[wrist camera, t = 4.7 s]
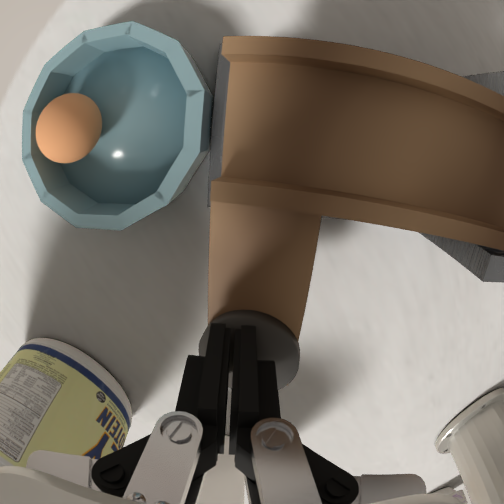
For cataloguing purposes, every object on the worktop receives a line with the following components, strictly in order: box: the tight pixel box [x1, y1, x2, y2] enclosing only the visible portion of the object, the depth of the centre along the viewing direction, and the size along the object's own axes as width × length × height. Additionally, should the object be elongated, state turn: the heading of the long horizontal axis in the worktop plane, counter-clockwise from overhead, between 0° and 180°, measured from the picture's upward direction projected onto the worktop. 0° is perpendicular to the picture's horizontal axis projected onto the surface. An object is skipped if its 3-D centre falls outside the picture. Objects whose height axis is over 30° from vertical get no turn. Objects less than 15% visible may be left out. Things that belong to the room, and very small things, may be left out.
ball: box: [36, 93, 102, 163], centre depth 11 cm, size 4×4×4 cm
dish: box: [22, 21, 214, 230], centre depth 12 cm, size 10×10×3 cm
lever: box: [199, 36, 504, 390], centre depth 8 cm, size 22×13×3 cm, turn 86°
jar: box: [198, 435, 245, 504], centre depth 19 cm, size 9×8×12 cm
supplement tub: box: [0, 338, 132, 467], centre depth 14 cm, size 12×12×17 cm
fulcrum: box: [208, 44, 504, 282], centre depth 10 cm, size 23×8×8 cm, turn 85°
